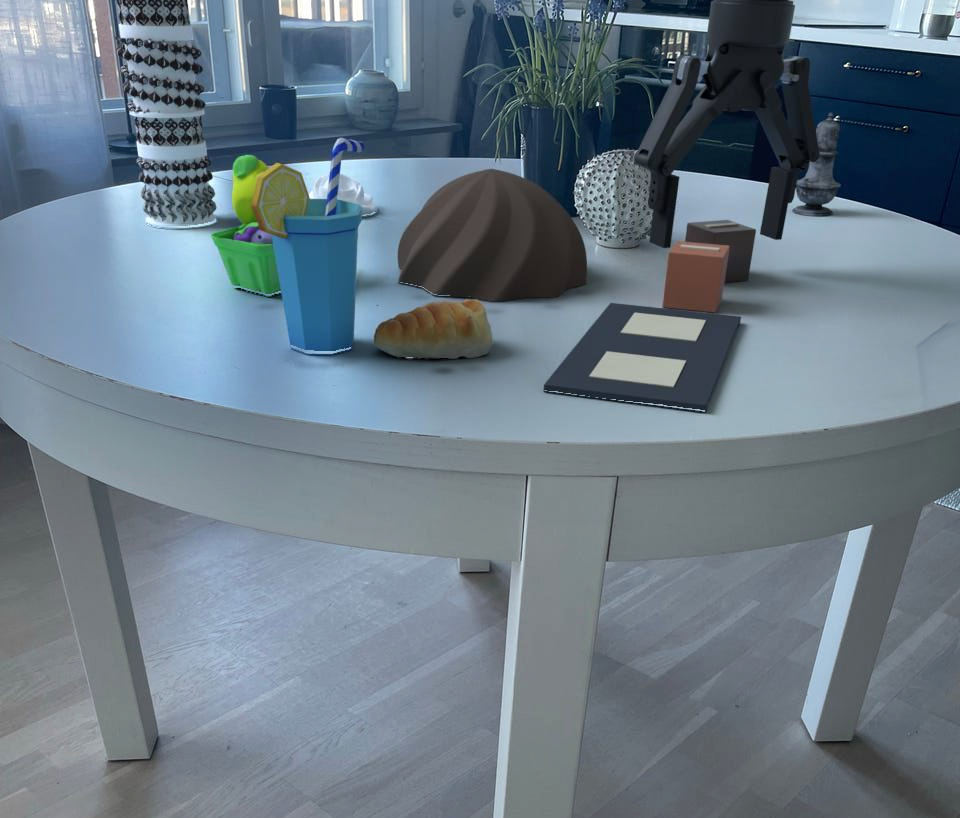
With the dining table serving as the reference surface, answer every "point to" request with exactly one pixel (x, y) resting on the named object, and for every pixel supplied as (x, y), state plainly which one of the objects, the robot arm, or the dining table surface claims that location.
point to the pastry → (437, 331)
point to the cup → (312, 253)
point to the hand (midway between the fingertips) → (716, 241)
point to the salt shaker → (820, 173)
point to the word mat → (648, 357)
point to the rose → (345, 193)
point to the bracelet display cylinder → (166, 111)
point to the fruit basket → (248, 235)
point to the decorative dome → (492, 241)
